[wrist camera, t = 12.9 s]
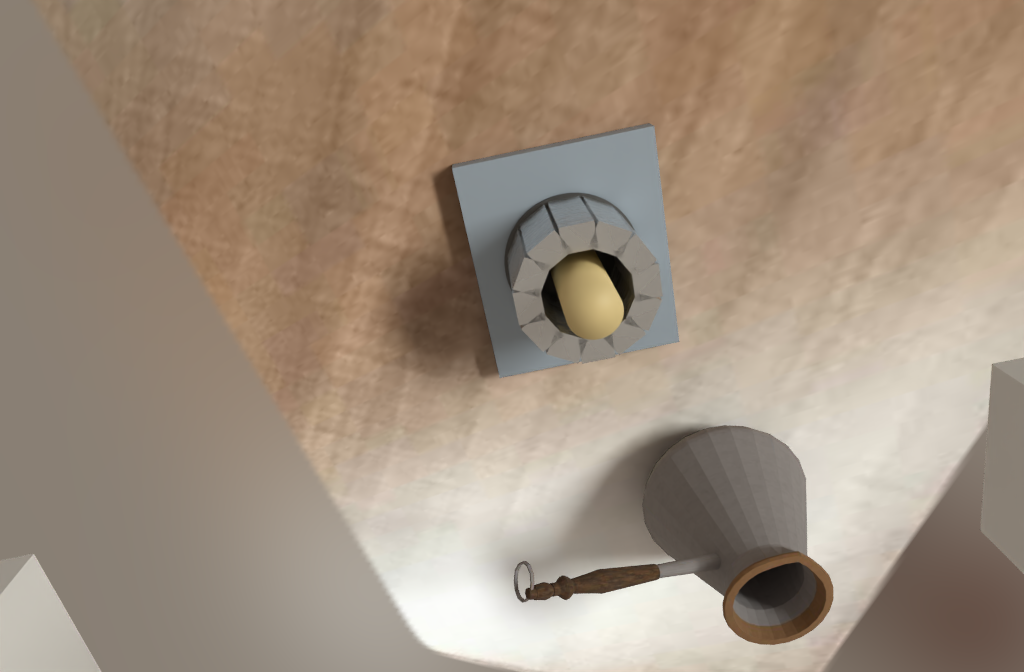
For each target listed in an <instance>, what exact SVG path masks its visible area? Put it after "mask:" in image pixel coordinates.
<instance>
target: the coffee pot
mask: <svg viewBox="0 0 1024 672" xmlns="http://www.w3.org/2000/svg"><path fill="white" fill-rule="evenodd" d="M643 512H644V519H645V524H646V526H647V528H648V530H649V532H650V534H651V536H652V538H653V540H654V541H655V542H656V543H657V544H658V545H659V546H660V547H661V548H662V549H663V550H664V551H665V552H666V553H667V554H668V555H670V556H671V557H672V558H674V559H675V560H676V561H673V562H668V563H663V564H658V565H656V564H649V565H639V566H629V567H619V568H609V569H599V570H596V571H593V572H591V573H588V574H585V575H582V576H579V577H576V578H573V579H570V578H568V577H567V576H561V577H559V578H558V580H557V581H556V582H555V583H550V584H549V583H545V582H543V583H540V584H537V585H534V573H533V571H532V568H531V566H530V564H529V563H527V562H526V561H523V562H521V563H519V564H518V565H517V567H516V569H515V575H514V586H515V592H516V595H517V597H518V599H519V600H520V601H521V602H522V603H523V602H526V601H528V600H532V599H534V600H547V599H549V598H550V597H551V596H559V597H561V598H562V599H564V600H567V599H569V598H570V597H571V596H572V594H573V593H574V594H578V593H601V594H602V593H606V592H610V591H614V590H618V589H622V588H626V587H630V586H634V585H638V584H642V583H646V582H650V581H654V580H657V579H659V578H663V577H670V576H677V575H684V574H691V573H694V574H695V575H696V576H698V577H699V578H700V579H702V580H703V581H705V582H706V583H707V584H709V585H710V586H711V587H713V588H714V589H715V590H717V591H718V592H719V593H721V594H722V595H723V596H724V600H723V615H724V618H725V620H726V622H727V625H728V626H729V627H730V628H731V629H732V630H733V631H734V632H735V633H736V634H737V635H738V636H739V637H741V638H743V639H745V640H747V641H749V642H753V643H757V644H770V645H775V644H780V643H786V642H790V641H792V640H795V639H798V638H800V637H802V636H804V635H805V634H807V633H809V632H810V631H812V630H813V629H814V628H815V627H817V626H818V625H819V624H820V623H821V622H822V621H823V620H824V618H825V616H826V615H827V613H828V612H829V610H830V608H831V604H832V601H833V585H832V582H831V579H830V577H829V575H828V574H827V572H826V571H825V570H824V569H823V568H822V567H821V566H820V565H819V564H817V563H816V562H815V561H814V560H812V559H811V558H810V557H808V556H807V512H806V478H805V475H804V472H803V470H802V467H801V464H800V462H799V459H798V458H797V457H796V456H795V455H794V453H793V452H792V451H791V450H790V448H789V447H788V446H787V445H786V444H784V443H782V442H781V441H779V440H778V439H776V438H775V437H773V436H772V435H770V434H768V433H765V432H761V431H758V430H755V429H751V428H748V427H744V426H725V425H724V426H719V427H713V428H708V429H703V430H701V431H699V432H696V433H694V434H692V435H689V436H687V437H685V438H683V439H682V440H681V441H679V442H678V443H676V444H675V445H674V446H672V447H671V448H669V449H668V450H667V452H666V453H665V454H664V455H663V456H662V457H661V458H660V460H659V461H658V462H657V463H656V465H655V467H654V469H653V471H652V473H651V475H650V477H649V479H648V481H647V484H646V487H645V493H644V498H643ZM522 564H525V565H526V566H527V568H528V570H529V573H530V581H531V584H530V588H527V589H526V591H525V595H526V599H525V600H524V599H523V598H522V597H521V595H520V593H519V590H518V571H519V569H520V567H521V565H522Z"/></svg>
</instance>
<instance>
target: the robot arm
mask: <svg viewBox="0 0 1024 672" xmlns="http://www.w3.org/2000/svg"><path fill="white" fill-rule="evenodd" d="M982 500H983V501H982V513H981V528H980V530H981V532H982V533H983V534H984V535H985V536H986V537H988V539H989V540H990V541H992V543H993V544H994V545H995V546H997V547H998V548H999V549H1000V550H1001V552H1003V553H1004V555H1005V556H1006V557H1008V559H1010V561H1011V562H1013V564H1014V565H1016V567H1017V568H1018V569H1020V570H1021V572H1022V573H1023V574H1024V358H1020V359H1015V360H1010V361H1005V362H1000V363H995V364H992V372H991V386H990V400H989V414H988V428H987V444H986V458H985V472H984V485H983V499H982ZM0 672H101V670H100V669H99V667H98V665H97V663H96V662H95V660H94V658H93V657H92V655H91V653H90V651H89V649H88V648H87V646H86V644H85V642H84V641H83V639H82V637H81V636H80V634H79V632H78V631H77V629H76V627H75V625H74V623H73V622H72V620H71V618H70V616H69V615H68V613H67V611H66V609H65V608H64V606H63V604H62V602H61V601H60V599H59V597H58V595H57V594H56V592H55V590H54V588H53V587H52V585H51V583H50V581H49V580H48V578H47V577H46V575H45V573H44V571H43V569H42V567H41V566H40V564H39V562H38V561H37V559H36V557H35V555H34V554H30V555H25V556H20V557H15V558H10V559H5V560H0Z"/></svg>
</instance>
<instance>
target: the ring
mask: <svg viewBox="0 0 1024 672" xmlns="http://www.w3.org/2000/svg"><path fill="white" fill-rule="evenodd" d="M547 203H548V208H549V209H548V208H547V207H546V206H545V205H544V204H543V205H542V206H541V207H539V208H538V209H537V210H536V211H535V212H534V213H532V214H531V215H530V216H529V217H528V218H527V219H526V220H524V221H523V222H522V223H521V224H520V228H521V229H520V228H517V231H516V234H515V236H514V239H513V242H512V245H511V248H510V251H509V254H508V256H507V257H508V260H507V262H508V269H509V275H510V281H511V288H512V294H513V299H514V303H515V308H516V313H517V318H518V322H519V325H520V326H521V330H522V331H523V332H524V333H525V334H526V335H527V336H528V337H529V338H530V339H531V340H532V341H533V342H534V343H535V344H536V345H537V346H538V347H539V348H540V349H541V350H542V351H543V352H544V351H545V350H546V354H547V355H551V356H554V357H558V358H561V359H565V360H568V361H571V362H575V363H579V360H580V358H581V361H582V364H583V363H588V362H593V361H598V360H603V359H608V358H613V357H615V351H616V352H617V353H618V354H619V355H620V354H622V353H623V352H624V351H625V350H627V349H628V348H629V347H630V346H632V345H633V344H634V343H636V342H637V341H638V340H639V339H641V338H642V337H643V336H644V335H646V333H645V331H644V330H647V331H649V329H650V327H651V325H652V322H653V320H654V318H655V316H656V313H657V311H658V309H659V306H660V304H661V302H662V299H661V298H660V297H662V296H663V294H662V286H661V278H660V269H659V263H658V262H657V259H656V258H655V257H654V255H653V254H652V253H651V251H650V250H649V249H648V248H647V246H646V245H645V244H644V242H643V241H642V240H641V239H640V237H639V236H638V235H637V234H636V232H635V231H634V230H633V229H632V227H631V226H630V225H629V224H628V223H627V221H626V220H625V219H624V218H623V217H622V215H621V214H620V213H619V212H618V210H617V209H616V208H614V207H613V206H612V205H609V204H606V203H603V202H600V201H597V200H594V199H591V198H588V197H585V196H582V199H581V198H580V197H579V195H578V196H574V197H569V198H564V199H559V200H554V201H550V202H547ZM591 249H595V250H598V251H601V252H604V253H608V254H611V255H614V259H615V265H614V268H613V270H612V273H611V275H610V280H611V281H612V283H613V285H614V287H615V289H616V291H617V292H618V294H619V296H620V298H621V300H622V302H623V306H624V315H623V319H622V321H621V323H620V325H619V327H618V328H617V329H616V330H615V331H614V332H613V333H612V334H610V335H609V336H607V337H604V338H601V339H597V340H589V339H584V338H581V337H579V336H577V335H576V334H574V333H573V332H572V331H571V329H570V328H569V326H568V324H567V322H566V319H565V316H564V313H563V309H562V306H561V303H560V300H559V298H558V297H555V296H551V295H549V294H548V293H547V291H546V290H545V289H544V288H543V285H544V283H545V280H546V277H547V275H548V272H549V270H550V269H551V268H552V267H554V266H555V265H556V264H557V263H558V262H560V261H561V260H562V259H563V258H564V257H566V256H567V255H568V254H571V253H576V252H581V251H586V250H591ZM643 329H644V330H643Z"/></svg>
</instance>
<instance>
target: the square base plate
mask: <svg viewBox="0 0 1024 672" xmlns="http://www.w3.org/2000/svg"><path fill="white" fill-rule="evenodd" d="M452 170H453V175H454V179H455V184H456V188H457V192H458V197H459V201H460V206H461V210H462V214H463V219H464V223H465V227H466V232H467V236H468V241H469V245H470V249H471V254H472V258H473V263H474V267H475V271H476V276H477V280H478V284H479V289H480V293H481V298H482V302H483V306H484V311H485V315H486V320H487V324H488V328H489V333H490V337H491V341H492V346H493V350H494V355H495V359H496V363H497V368H498V372H499V376H500V378H502V377H507V376H512V375H516V374H521V373H526V372H531V371H536V370H541V369H546V368H551V367H556V366H561V365H566V364H571V363H575V362H571V361H568V360H565V359H561V358H558V357H554V356H551V355H547V354H546V350H545V351H544V352H543V351H542V350H541V349H540V348H539V347H538V346H537V345H536V344H535V343H534V342H533V341H532V340H531V339H530V338H529V337H528V336H527V335H526V334H525V333H524V332H523V331H522V330H521V326H520V325H519V322H518V318H517V313H516V308H515V303H514V299H513V294H512V288H511V281H510V275H509V269H508V262H507V260H508V257H507V256H508V254H509V251H510V248H511V245H512V242H513V239H514V236H515V234H516V231H517V228H520V224H521V223H522V222H523V221H524V220H526V219H527V218H528V217H529V216H530V215H531V214H532V213H534V212H535V211H536V210H537V209H538V208H539V207H541V206H542V205H543V204H544V205H545V206H546V207H547V208H548V203H547V202H550V201H554V200H559V199H564V198H569V197H574V196H578V195H579V197H580V198H581V199H582V196H585V197H588V198H591V199H594V200H597V201H600V202H603V203H606V204H609V205H612V206H613V207H614V208H616V209H617V210H618V212H619V213H620V214H621V215H622V217H623V218H624V219H625V220H626V221H627V223H628V224H629V225H630V226H631V227H632V229H633V230H634V231H635V232H636V234H637V235H638V236H639V237H640V239H641V240H642V241H643V242H644V244H645V245H646V246H647V248H648V249H649V250H650V251H651V253H652V254H653V255H654V257H655V258H656V259H657V262H658V263H659V269H660V278H661V286H662V294H663V296H662V297H660V298H661V299H662V302H661V304H660V306H659V309H658V311H657V313H656V316H655V318H654V320H653V322H652V325H651V327H650V329H649V331H647V330H644V329H643V330H644V331H645V333H646V335H644V336H643V337H642V338H641V339H639V340H638V341H637V342H636V343H634V344H633V345H632V346H630V347H629V348H628V349H627V350H625V351H624V352H623V353H626V352H631V351H636V350H641V349H646V348H651V347H656V346H661V345H666V344H671V343H676V342H679V336H678V327H677V319H676V310H675V302H674V293H673V284H672V276H671V267H670V259H669V250H668V241H667V233H666V224H665V216H664V207H663V198H662V190H661V181H660V173H659V164H658V155H657V147H656V138H655V130H654V126H653V125H652V124H650V123H648V124H643V125H639V126H634V127H629V128H624V129H620V130H615V131H610V132H605V133H601V134H596V135H591V136H586V137H581V138H577V139H572V140H567V141H562V142H558V143H553V144H548V145H543V146H539V147H534V148H529V149H524V150H520V151H515V152H510V153H505V154H500V155H496V156H491V157H486V158H481V159H477V160H472V161H467V162H462V163H458V164H453V165H452ZM548 209H549V208H548ZM520 229H521V228H520ZM614 265H615V259H614V255H611V254H608V253H604V252H601V251H598V250H595V249H591V250H586V251H581V252H576V253H571V254H568V255H567V256H566V257H564V258H563V259H562V260H561V261H560V262H558V263H557V264H556V265H555V266H554V267H552V268H551V269H550V270H549V272H548V275H547V277H546V280H545V283H544V285H543V288H544V289H545V290H546V291H547V293H548V294H549V295H551V296H555V297H558V298H559V300H560V303H561V306H562V309H563V313H564V316H565V319H566V322H567V324H568V326H569V328H570V329H571V331H572V332H573V333H574V334H576V335H577V336H579V337H581V338H584V339H589V340H597V339H601V338H604V337H607V336H609V335H610V334H612V333H613V332H614V331H615V330H616V329H617V328H618V327H619V325H620V323H621V321H622V319H623V315H624V306H623V302H622V300H621V298H620V296H619V294H618V292H617V291H616V289H615V287H614V285H613V283H612V281H611V280H610V275H611V273H612V270H613V268H614ZM616 354H618V353H617V352H616V351H615V355H616ZM579 362H581V358H580V360H579Z"/></svg>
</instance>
